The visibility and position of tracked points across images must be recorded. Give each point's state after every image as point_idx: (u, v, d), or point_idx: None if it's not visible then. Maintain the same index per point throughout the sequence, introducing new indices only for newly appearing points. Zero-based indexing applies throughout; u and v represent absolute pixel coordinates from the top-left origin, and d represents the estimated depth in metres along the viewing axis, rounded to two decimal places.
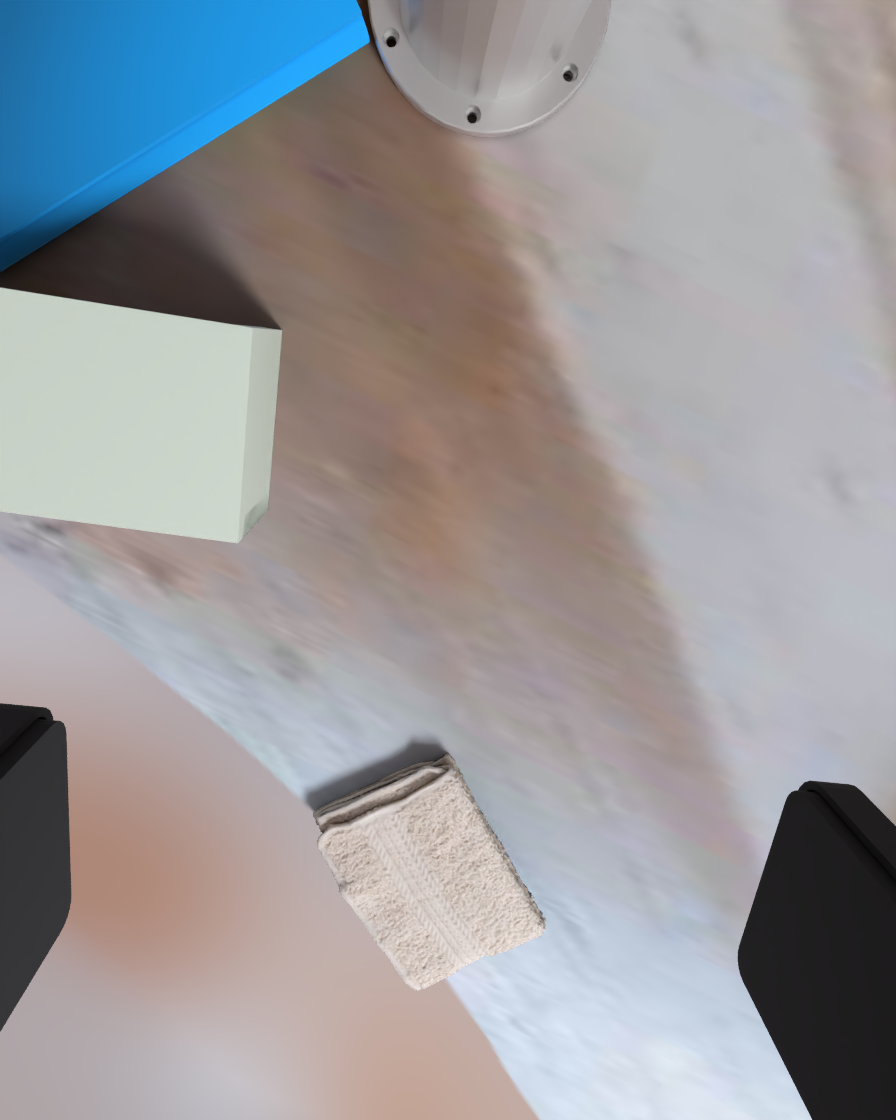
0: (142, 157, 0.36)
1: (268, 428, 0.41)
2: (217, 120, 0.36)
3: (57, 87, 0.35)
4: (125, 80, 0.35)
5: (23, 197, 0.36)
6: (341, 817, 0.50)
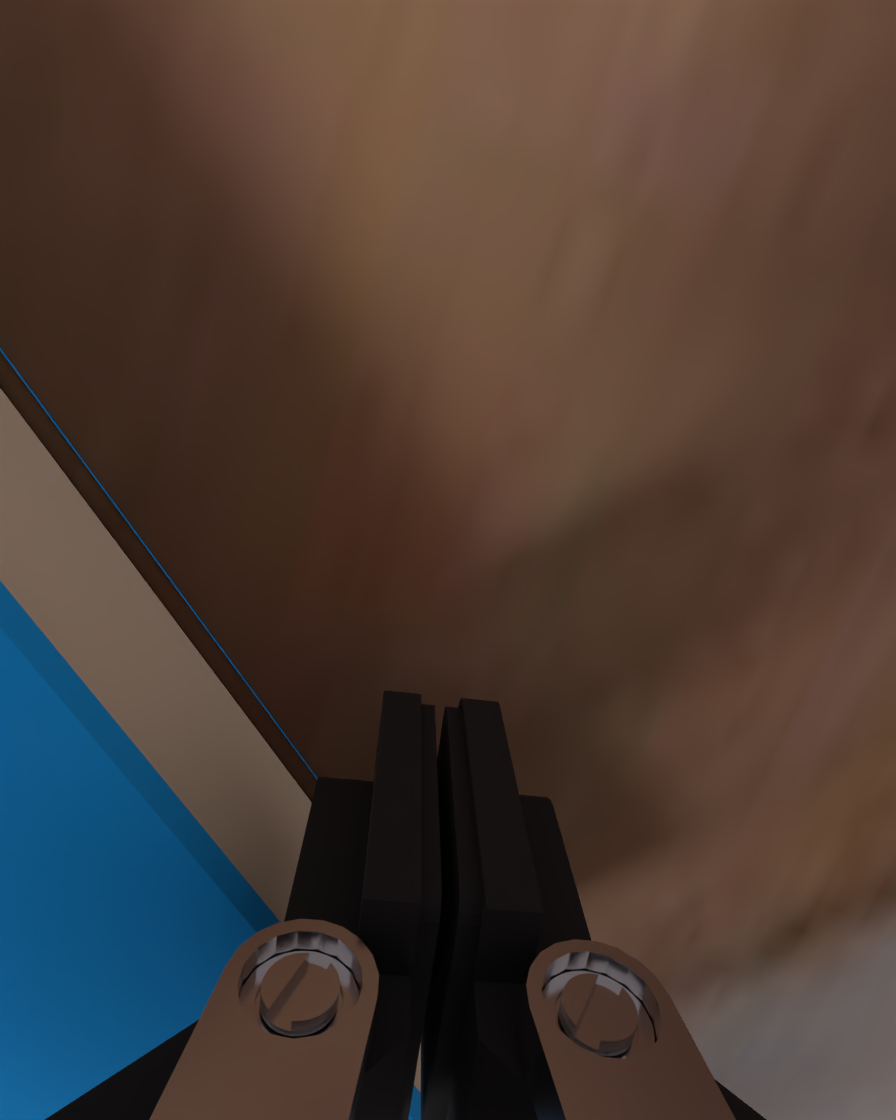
0: None
1: None
2: None
3: None
4: None
5: None
6: None
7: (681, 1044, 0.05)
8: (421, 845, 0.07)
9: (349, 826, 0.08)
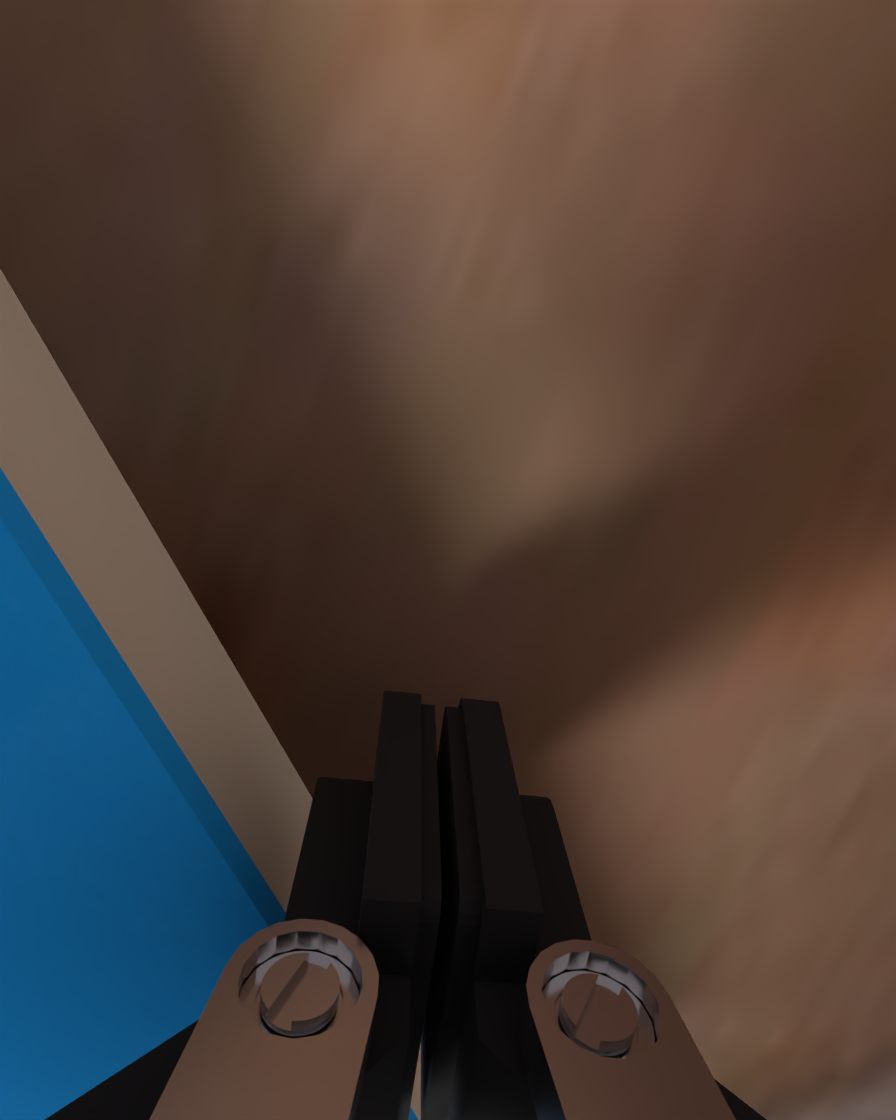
0: None
1: None
2: None
3: None
4: None
5: None
6: None
7: (681, 1044, 0.05)
8: (421, 846, 0.07)
9: (350, 826, 0.08)
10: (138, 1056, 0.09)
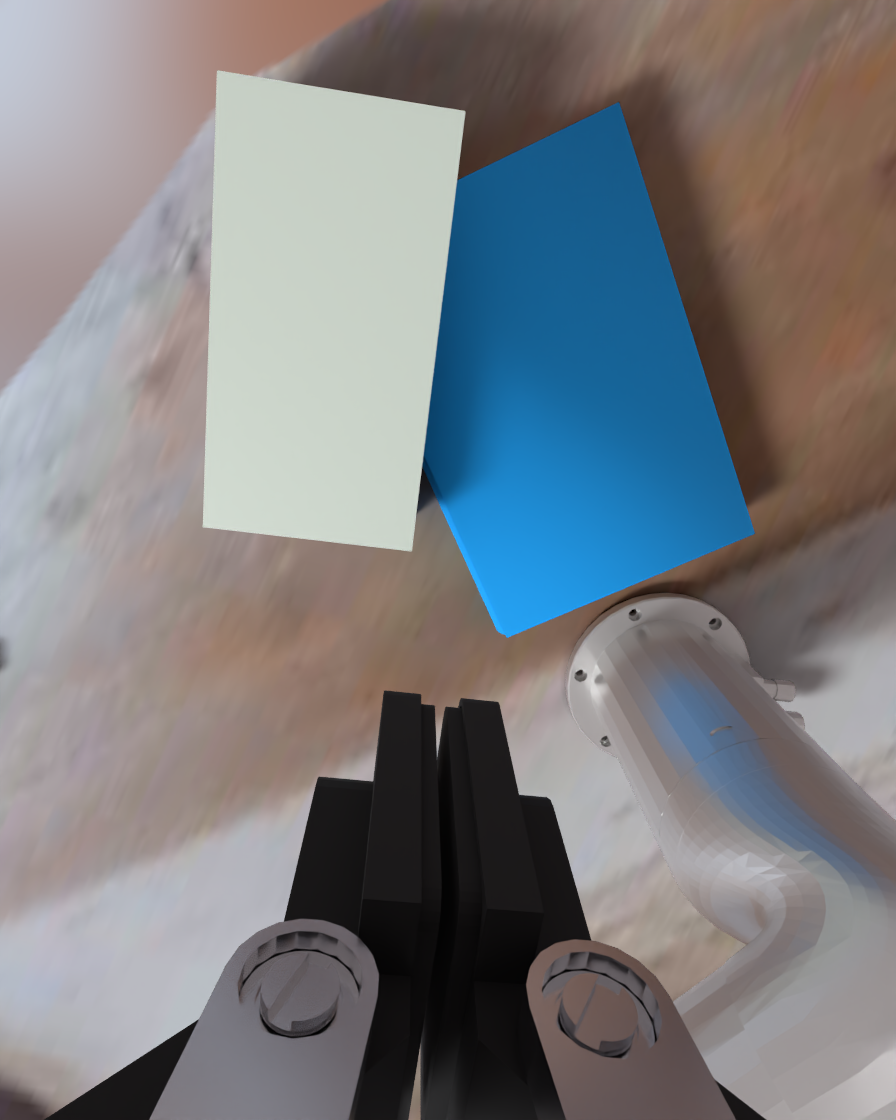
0: None
1: None
2: (444, 510, 0.43)
3: (474, 388, 0.39)
4: (474, 448, 0.40)
5: None
6: None
7: (681, 1044, 0.05)
8: (421, 846, 0.07)
9: (350, 825, 0.08)
10: (678, 438, 0.41)
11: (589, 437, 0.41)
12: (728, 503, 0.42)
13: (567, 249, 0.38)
